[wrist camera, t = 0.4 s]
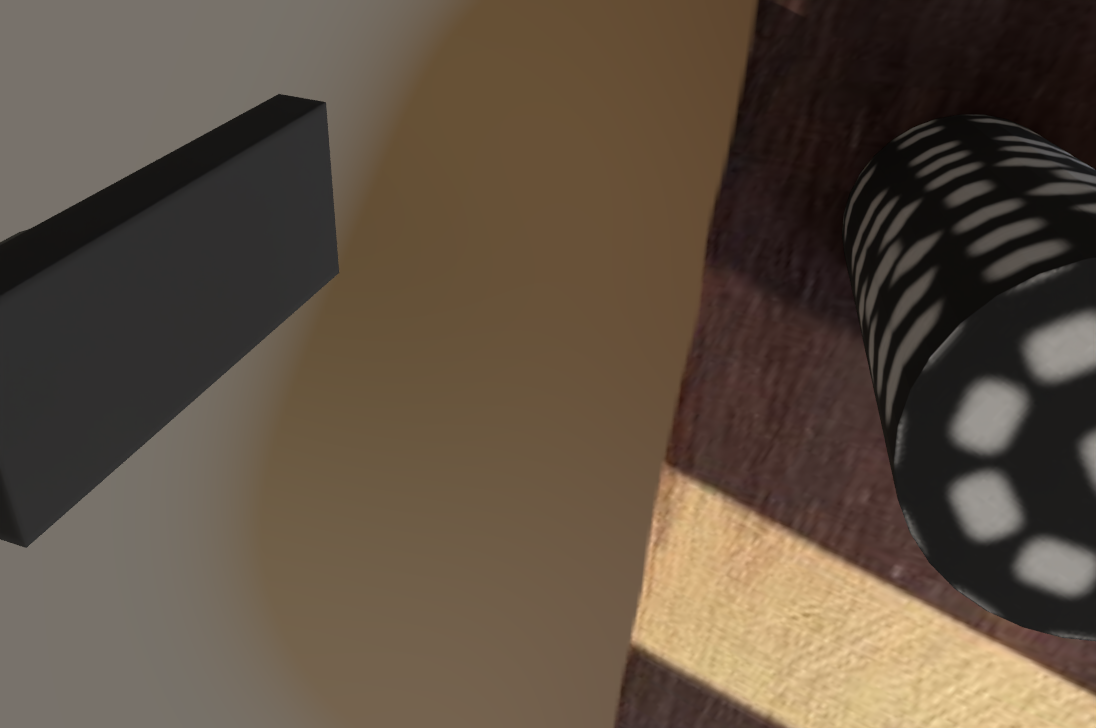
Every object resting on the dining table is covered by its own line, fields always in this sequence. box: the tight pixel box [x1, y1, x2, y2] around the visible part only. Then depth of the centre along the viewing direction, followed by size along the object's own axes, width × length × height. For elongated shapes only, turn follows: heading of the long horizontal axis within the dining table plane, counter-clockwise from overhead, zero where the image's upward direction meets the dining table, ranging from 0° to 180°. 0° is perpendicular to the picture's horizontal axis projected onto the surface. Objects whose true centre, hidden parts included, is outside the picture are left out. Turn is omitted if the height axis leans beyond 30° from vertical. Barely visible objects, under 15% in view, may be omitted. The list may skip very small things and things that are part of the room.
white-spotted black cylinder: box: [842, 115, 1096, 641], centre depth 29 cm, size 8×8×20 cm
